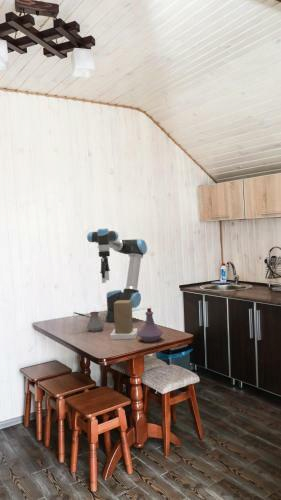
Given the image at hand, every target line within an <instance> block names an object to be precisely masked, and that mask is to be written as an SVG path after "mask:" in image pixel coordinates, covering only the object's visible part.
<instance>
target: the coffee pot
mask: <svg viewBox="0 0 281 500" xmlns="http://www.w3.org/2000/svg"><path fill="white" fill-rule="evenodd" d="M99 313H100V312H99V311H91V312H90V313H89V314H90V315H85V314H83V313H78V312H73V314H74V315H79V316H83V317H86V318H89V321H88V323H87V326H86V328H87V330H88V331H89V332H91V333H93V332H94V333H97V332H100V331H102V329H103V328H104V324H103V322H102V320H101V317H100V316H99Z"/></svg>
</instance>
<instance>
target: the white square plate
mask: <svg viewBox="0 0 281 500" xmlns="http://www.w3.org/2000/svg"><path fill="white" fill-rule="evenodd" d="M138 330H139V329H138V327H137V328H136V327H135V328H133V330H132V331H131V333H115V328H114V329H113V330H112V332H111V333H110V336H109V338H110V340H111V341H113V340H136V338H137V337H138V333H139V331H138Z"/></svg>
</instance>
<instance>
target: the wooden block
mask: <svg viewBox="0 0 281 500" xmlns="http://www.w3.org/2000/svg"><path fill="white" fill-rule="evenodd" d="M114 320H115V322H114V329H115V333H131V331H132V330H133V329H134V325H133V324H134V322H133V308H132V301H131V300H117V301H116V302H115V303H114Z"/></svg>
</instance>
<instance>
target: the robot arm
mask: <svg viewBox="0 0 281 500" xmlns="http://www.w3.org/2000/svg"><path fill="white" fill-rule="evenodd" d="M86 236H87V237H86V238H87V241H88V242H89V243H96V244H97V245H98V246H97V248H98V257H99V258H101V259H100V272H99V273H100V274H101V283H102V284H106V283H107V281H110V273H109V272H110V271H111V269H110V266H109V257H110V249H112V250H113V251H115V252H117V253H120V254H123V255H128V257H129V261H128V270H127V279H126V286H125V287H124V288H123V291H122V289H117V290H110V291H108V292H106V307H107V309H106V310H107V311H106V315H105V322H107V323H115V320H114V303H115V302H116V301H117V300H131V301H132V309H135V308H138V307H139V306H140V304H141V300H142V296H141V293H140V292H139V291H140V290H139V289H138V284H139V276H140V269H141V263H142V262H141V260H142V259H143V258H144V255H145V254H147V251H148V247H147V243H146V241H145V240H144V239H141V238H137V239H135V238H134V239H119V233H118V232H117V231H116V230H109V228H107V227H106V228H98V229H97V231H89V232H88V233H87V235H86Z"/></svg>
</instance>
